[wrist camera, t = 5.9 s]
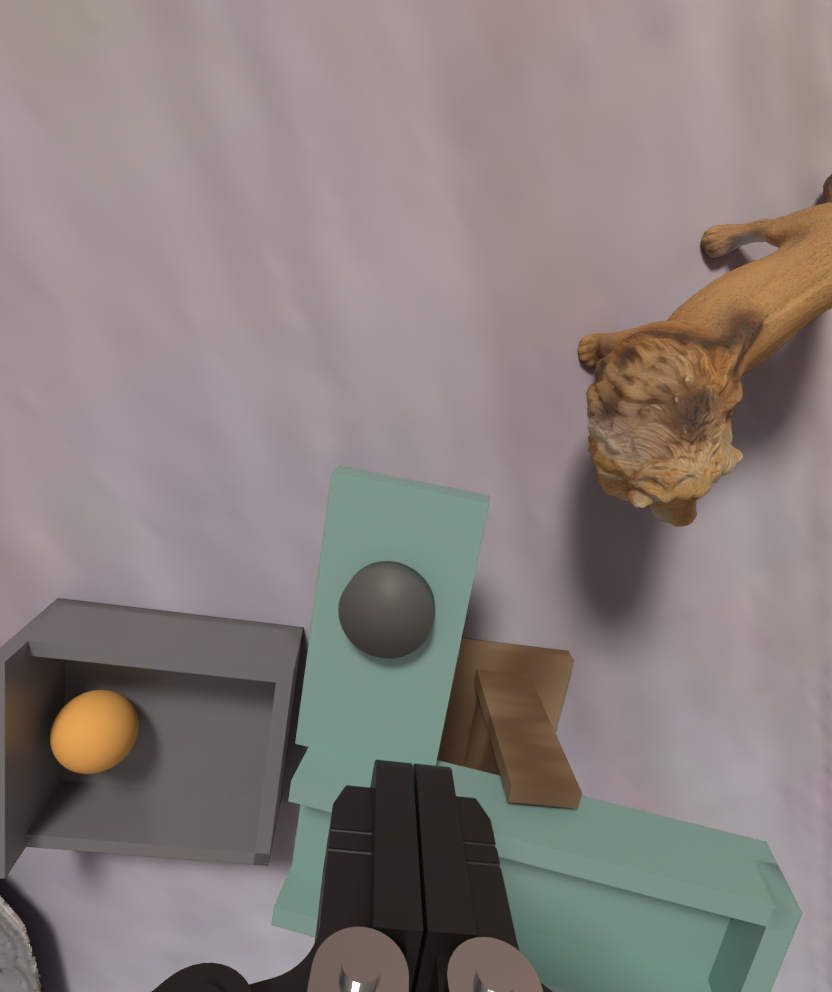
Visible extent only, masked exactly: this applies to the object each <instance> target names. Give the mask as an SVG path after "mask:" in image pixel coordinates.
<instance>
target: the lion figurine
mask: <svg viewBox="0 0 832 992" xmlns="http://www.w3.org/2000/svg"><path fill="white" fill-rule="evenodd" d="M823 194H824V196H825V199H826V203H824V204H820V205H816V206H812V207H809V208H806V209H803V210H800V211H797V212H794V213H791V214H789V215H786V216H783V217H780V218H777V219H775V220H774V219H762V220H758V221H754V222H750V223H746V224H736V225H733V224H726V225H717V226H714V227H711V228H709V229H708V230H707V231H705V233H704V235H703V237H702V241H701V243H702V247H703V249H704V250H705V253H706V254H707V255H708V256H709V257H712V258H717V257H721V256H724V255H726V254H728V253H729V252H731V251H733V250H734V249H736V248H738V247H740V246H743V245H746V244H749V243H753V242H767V243H769V244H771V245H773V246H776V247H779V249H778V250H777V251H776V252H774V253H772V254H770V255H768V256H766V257H764V258H761V259H759V260H756V261H753V262H751V263H748V264H746V265H743V266H741V267H738V268H736V269H734V270H732V271H730V272H728V273H726V274H724V275H722V276H721V277H719V278H718V279H716V280H714V281H713V282H711V283H710V284H708V285H707V286H705V287H704V288H703V289H701V290H700V291H699V292H697V293H696V294H695V295H693V296H692V297H691V298H689V299H688V300H687V301H686V302H685V303H684V304H683V305H681V306H680V307H679V308H678V309H677V310H676V311H674V313H673V314H672V315H671V316H670V317H669V318H668V320H667V321H660V322H654V323H651V324H647V325H644V326H640V327H637V328H633V329H629V330H624V331H620V332H617V333H609V334H591V335H587V336H585V337H584V338H583V339H582V340H581V341H580V344H579V347H578V354H579V358H580V360H581V361H583V362H584V363H585V364H586V365H587V366H588V367H591V366H594V365H596V364H597V365H596V369H595V377H596V381H595V383H594V384H592V385H590V386H589V388H588V390H587V393H586V395H587V404H588V408H587V411H588V413H587V415H588V418H589V425H588V429H589V433H590V435H589V436H588V439H589V443H590V445H589V449H588V450H589V452H590V453H591V460H592V461H593V463H594V465H595V468H596V472H597V480H598V482H599V484H600V485H601V487H602V488H603V490H604V492H605V493H606V494H607V495H613V496H616V497H618V498H620V499H623V500H624V501H630V502H631V503H632V505H634V506H635V507H639V508H644V507H646V506H648V505H650V508H651V511H652V513H653V515H654V516H655V517H656V518H658V519H660V520H662V521H665V522H668V523H671V524H672V525H674V526H685V525H689V524H690V523H692V522H693V520H694V519H695V517H696V515H697V512H696V500H697V499H699V498H701V497H702V496H704V495H705V494H706V493H707V492H709V490H710V488H711V485H712V484H713V483H715V482H717V481H718V480H719V478H720V476H721V475H726V474H729V473H730V472H732V471H733V470H734V468H735V465H736V464H738V463H739V462H740V460H741V459H742V457H743V454H742V453H741V452H740V451H739V450H738V449H736V448H735V447H733V446H732V445H731V442H732V437H733V434H732V424H731V417H732V415H733V413H734V407H735V405H736V404H738V403H739V402H740V401H741V400H742V398H743V391H742V384H741V382H740V379H741V377H742V375H744V374H745V373H747V372H748V371H750V370H752V369H753V368H755V367H756V366H758V365H759V364H761V363H762V362H764V361H765V360H766V359H767V358H769V357H770V356H771V355H772V354H774V353H775V352H776V351H777V350H779V349H780V348H781V347H782V346H783V345H784V344H786V343H787V342H788V341H789V340H790V339H791V338H792V337H793V336H794V335H795V334H796V333H797V332H799V331H800V330H801V329H802V328H803V327H804V326H805V325H807V324H808V323H809V322H810V321H812V320H813V319H815V318H816V317H817V316H819V315H820V314H822V313H823V312H825V311H827V310H829V309H831V308H832V174H831V176H829V177H828V178H827V179H826V181H825V183H824V185H823Z"/></svg>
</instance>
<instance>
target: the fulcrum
mask: <svg viewBox="0 0 832 992" xmlns="http://www.w3.org/2000/svg"><path fill="white" fill-rule="evenodd" d="M573 661H574V660H573V658H572V656H571V655H570V653H569V651H565V650H556V649H548V648H540V647H532V646H523V645H515V644H507V643H498V642H490V641H482V640H474V639H465V638H461V643H460V648H459V653H458V658H457V663H456V668H455V673H454V678H453V682H452V687H451V692H450V697H449V702H448V707H447V712H446V717H445V722H444V727H443V732H442V736H441V741H440V746H439V751H438V756H437V760H438V761H442V762H447V763H451V764H455V765H459V766H463V767H467V768H471V769H475V770H479V771H483V772H487V773H491V774H495V775H499V776H501V779H502V782H503V786H504V789H505V793H506V796H507V800H508V802H513V803H524V804H535V805H546V806H556V807H567V808H578V807H579V803H580V800H581V796H582V792H581V790H580V787H579V785H578V783H577V781H576V778H575V776H574V774H573V772H572V769H571V767H570V765H569V763H568V761H567V758H566V756H565V754H564V752H563V749H562V747H561V745H560V743H559V740H558V738H557V736H556V734H555V731H556V728H557V724H558V720H559V716H560V712H561V708H562V704H563V700H564V696H565V692H566V689H567V685H568V681H569V677H570V673H571V669H572V665H573Z"/></svg>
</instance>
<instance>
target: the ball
mask: <svg viewBox="0 0 832 992" xmlns="http://www.w3.org/2000/svg"><path fill="white" fill-rule="evenodd" d="M138 730H139V721H138V716H137V712H136V710H135V708H134V706H133V705H132V703H131V702H130V701H129V700H128V699H127V698H125V697H124V696H123V695H121V694H119V693H116V692H114V691H109V690H94V691H89V692H86V693H83V694H81V695H79V696H77V697H75V698H74V699H72V700H71V701H69V702H68V703H67V704H66V705H65V706H64V707H63V708H62V709H61V710H60V712H59V713H58V715H57V716H56V718H55V720H54V722H53V725H52V728H51V734H50V744H51V748H52V751H53V754H54V756H55V757H56V759H57V760H58V761H59V763H60V764H61V765H63V766H64V767H65V768H67V769H69V770H71V771H73V772H76V773H82V774H94V773H99V772H102V771H105V770H107V769H110V768H112V767H113V766H115V765H116V764H118V763H119V762H120V761H122V760H123V759H124V758H125V757H126V756H127V754H128V753H129V752H130V750H131V749H132V747H133V745H134V743H135V741H136V738H137V735H138Z"/></svg>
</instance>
